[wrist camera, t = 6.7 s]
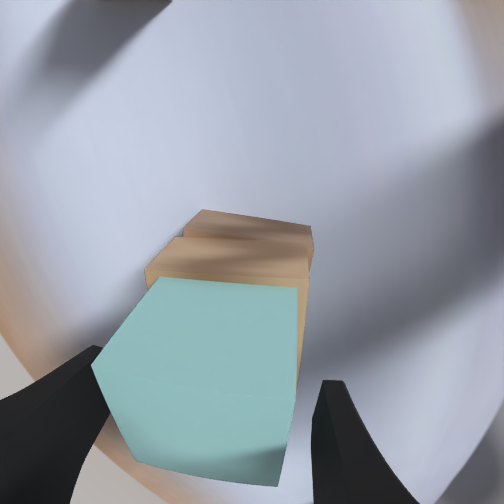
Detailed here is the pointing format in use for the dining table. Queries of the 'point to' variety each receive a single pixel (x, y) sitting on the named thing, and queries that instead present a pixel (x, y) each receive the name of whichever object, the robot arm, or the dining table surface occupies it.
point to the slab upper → (238, 267)
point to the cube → (205, 378)
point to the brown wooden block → (247, 229)
